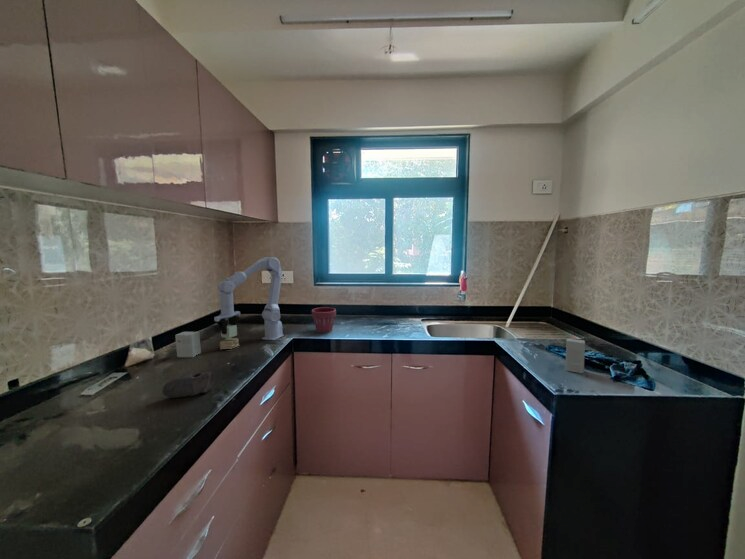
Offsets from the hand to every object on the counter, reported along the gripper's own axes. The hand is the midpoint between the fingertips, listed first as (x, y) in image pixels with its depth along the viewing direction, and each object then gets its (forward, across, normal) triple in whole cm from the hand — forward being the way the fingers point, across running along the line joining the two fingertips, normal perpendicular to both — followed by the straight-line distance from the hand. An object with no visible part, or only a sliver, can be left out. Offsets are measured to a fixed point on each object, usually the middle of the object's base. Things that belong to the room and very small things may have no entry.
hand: (228, 332), depth 148 cm
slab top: (+6, 0, 0) cm, 6 cm away
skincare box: (+8, -17, +152) cm, 153 cm away
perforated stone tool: (+8, +43, +24) cm, 50 cm away
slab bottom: (+8, 0, 0) cm, 8 cm away
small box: (+8, +14, -10) cm, 19 cm away
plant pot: (+8, -41, +31) cm, 52 cm away
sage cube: (+2, 0, 0) cm, 2 cm away
